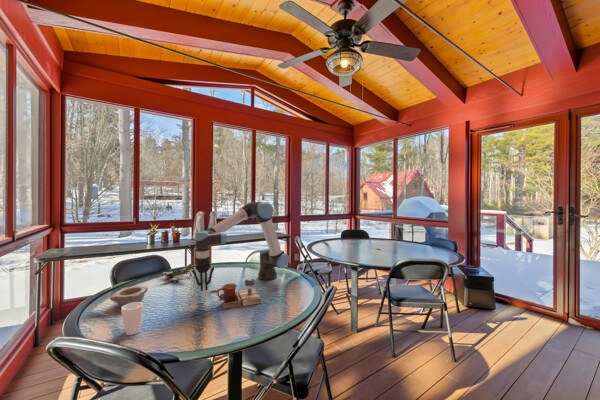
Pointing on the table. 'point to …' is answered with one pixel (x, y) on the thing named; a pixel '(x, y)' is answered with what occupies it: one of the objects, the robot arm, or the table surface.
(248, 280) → the wheel
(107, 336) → the table surface
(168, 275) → the toy airplane
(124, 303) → the mortar
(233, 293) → the mug
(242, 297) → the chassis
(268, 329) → the table surface
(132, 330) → the foam cup
